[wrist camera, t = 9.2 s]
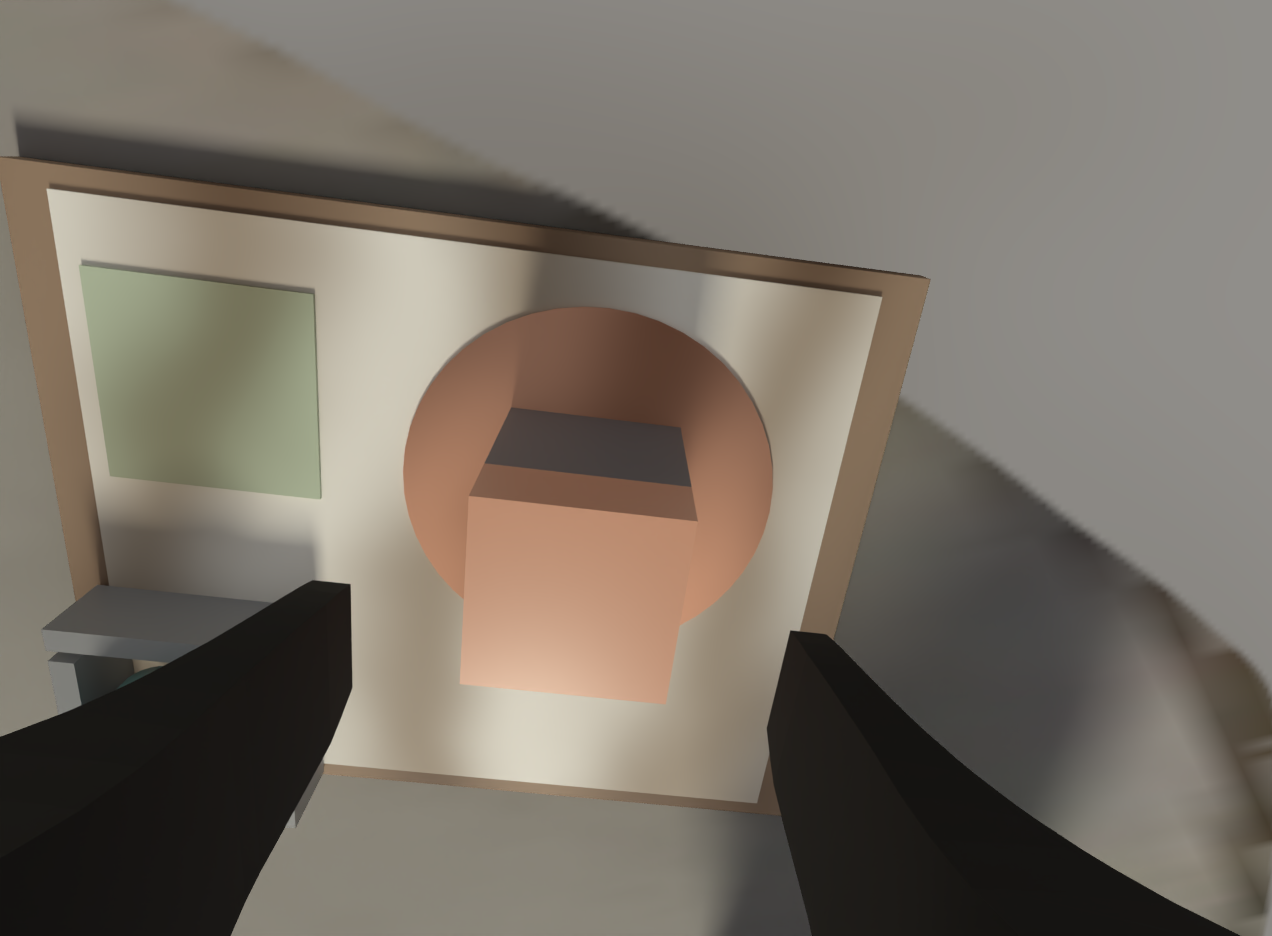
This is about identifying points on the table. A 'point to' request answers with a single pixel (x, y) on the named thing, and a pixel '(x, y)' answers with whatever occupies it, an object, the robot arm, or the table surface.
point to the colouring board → (451, 445)
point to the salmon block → (577, 557)
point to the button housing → (136, 642)
